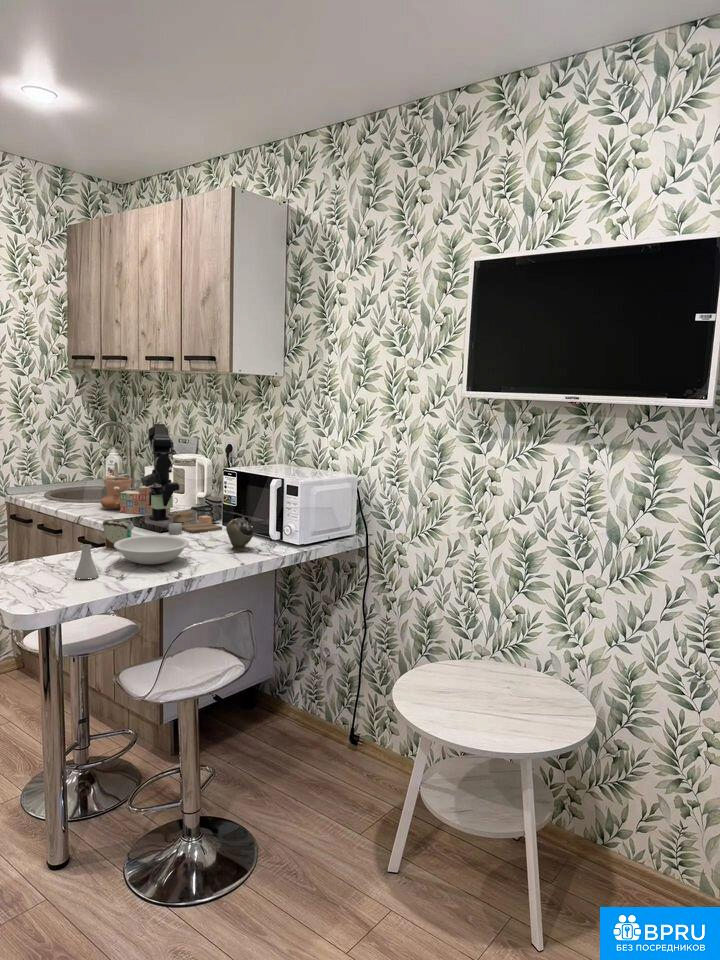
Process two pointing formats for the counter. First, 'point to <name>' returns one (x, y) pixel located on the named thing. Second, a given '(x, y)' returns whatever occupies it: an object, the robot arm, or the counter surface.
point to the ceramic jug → (115, 491)
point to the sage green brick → (160, 502)
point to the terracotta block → (204, 519)
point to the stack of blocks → (137, 502)
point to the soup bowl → (151, 548)
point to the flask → (86, 564)
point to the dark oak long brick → (183, 516)
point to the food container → (116, 531)
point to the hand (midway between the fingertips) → (161, 505)
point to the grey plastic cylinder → (175, 528)
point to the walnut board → (200, 527)
